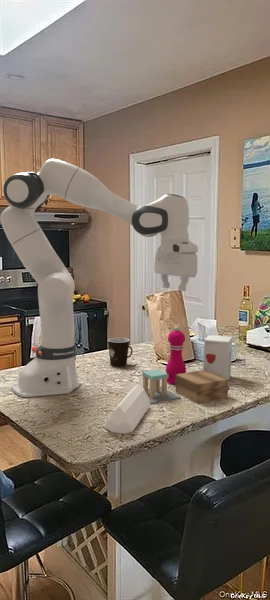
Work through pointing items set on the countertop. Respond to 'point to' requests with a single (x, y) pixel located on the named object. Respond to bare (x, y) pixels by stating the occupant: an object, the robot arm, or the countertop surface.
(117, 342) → the coffee mug
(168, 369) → the pepper mill
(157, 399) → the mat
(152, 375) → the stool
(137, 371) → the countertop surface
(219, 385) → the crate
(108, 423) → the crystal
